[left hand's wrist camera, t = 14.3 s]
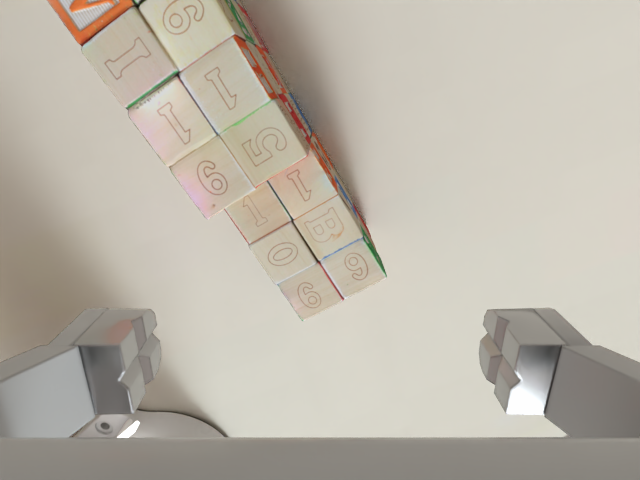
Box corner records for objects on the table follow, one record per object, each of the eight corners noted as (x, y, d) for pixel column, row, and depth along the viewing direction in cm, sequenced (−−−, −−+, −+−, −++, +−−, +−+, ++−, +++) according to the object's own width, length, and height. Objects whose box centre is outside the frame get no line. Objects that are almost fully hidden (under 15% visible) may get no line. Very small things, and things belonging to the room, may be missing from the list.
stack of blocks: (371, 229, 34) (397, 305, 22) (305, 264, 35) (297, 354, 23) (219, -37, 27) (144, -126, 15) (144, 17, 28) (22, -28, 17)
